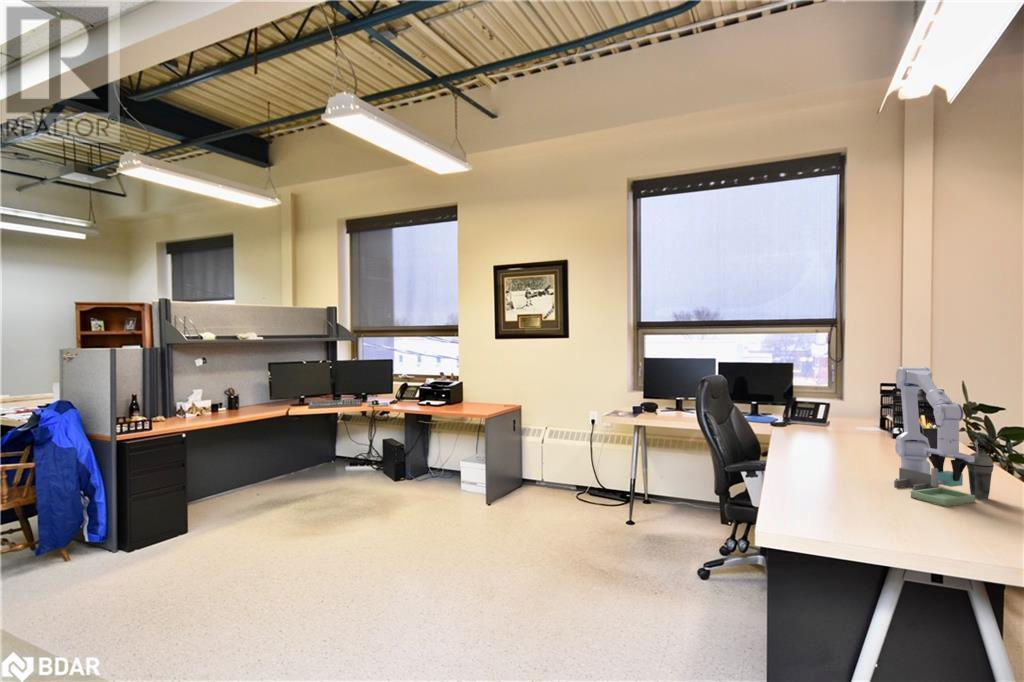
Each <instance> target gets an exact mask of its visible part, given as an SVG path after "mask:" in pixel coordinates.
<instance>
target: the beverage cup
mask: <svg viewBox="0 0 1024 682" xmlns="http://www.w3.org/2000/svg"><path fill="white" fill-rule="evenodd" d="M974 442H975V450H976V452H973V453H970V455H971V456H974V462H968V464H967V465H966V468H967V472H968V481H969V482H968V484H969V492H970V494H971V495H975V499H976V498H978V500H983V499H987V500H989V497H990V490H991V482H992V475H993V471H994V466H995V465H994V461H993V459H992V458H991V457H990V456H989V455H988V454H987V453H984V452H979V446H978V445H979V444H978V439H974Z"/></svg>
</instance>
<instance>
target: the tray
mask: <svg viewBox="0 0 1024 682" xmlns="http://www.w3.org/2000/svg"><path fill="white" fill-rule="evenodd" d="M911 497H912V498H911ZM910 498H911V499H915V498H916V500H918V499H920V500H919V501H922V500H923V502H926V501H927V502H926V503H930V502H931V503H930V504H933V503H935V504H934V505H937V504H938V506H941V505H942V507H944V506H946V507H950V506H951V507H952V506H958V504H959V505H964V504H965V503H966V504H971V503H976V498H975V495H971V493H966V492H962V491H957V490H954V489H950V488H946V487H940V486H938V488H930V489H923V490H915V491H913V490H910Z"/></svg>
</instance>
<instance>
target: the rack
mask: <svg viewBox="0 0 1024 682" xmlns="http://www.w3.org/2000/svg"><path fill="white" fill-rule="evenodd" d="M898 468H899V470H898V471H899V472H898V475H899V476H898V478H899V480H896V479H894V482H893V483H894V484H893V485H894V488H896V487H898V488H902V487H901V486H906V487H911V486H913V487H912V491H915V490H923V489H930V488H938V487H939V486H938V487H933V486H931V473H930V474H927V473H923V472H918V471H914V470H909V469H905V468H901V467H898Z"/></svg>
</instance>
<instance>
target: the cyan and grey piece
mask: <svg viewBox="0 0 1024 682" xmlns="http://www.w3.org/2000/svg"><path fill="white" fill-rule="evenodd" d="M930 474H931V486H933V487H939V486H945V487H949V488H953V487H960V486H961V487H962V486H963V478H964V477H963V473H962V474H961V477H960V480H959V481H953V470H952V471H951V470H943V471H940V472H938V469H937V468H934V467H930Z"/></svg>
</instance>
